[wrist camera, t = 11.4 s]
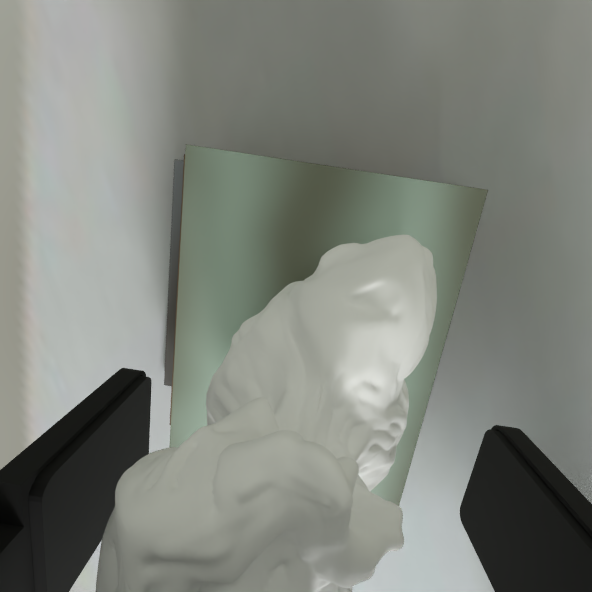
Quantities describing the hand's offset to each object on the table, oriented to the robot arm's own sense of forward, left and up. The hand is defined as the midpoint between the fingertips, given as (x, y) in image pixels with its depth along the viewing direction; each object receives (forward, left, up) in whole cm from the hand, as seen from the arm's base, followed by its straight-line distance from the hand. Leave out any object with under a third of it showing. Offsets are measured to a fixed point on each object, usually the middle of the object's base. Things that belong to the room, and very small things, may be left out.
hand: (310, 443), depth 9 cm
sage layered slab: (0, 0, -14) cm, 14 cm away
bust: (0, 0, -5) cm, 5 cm away
